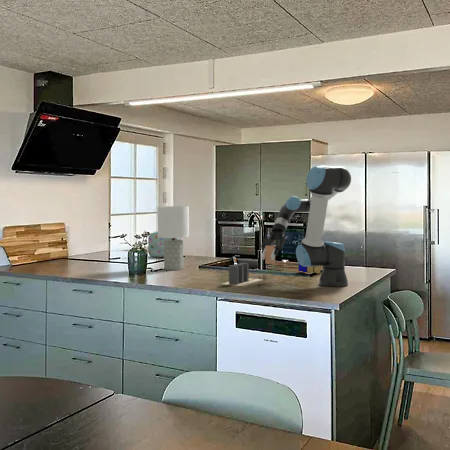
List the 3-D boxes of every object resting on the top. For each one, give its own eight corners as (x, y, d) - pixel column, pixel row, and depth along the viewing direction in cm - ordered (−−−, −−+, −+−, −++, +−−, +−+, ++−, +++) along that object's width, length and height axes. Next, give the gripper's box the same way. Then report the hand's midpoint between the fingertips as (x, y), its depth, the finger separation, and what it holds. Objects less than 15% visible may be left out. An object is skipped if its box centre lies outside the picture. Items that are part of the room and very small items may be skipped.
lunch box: (183, 256, 420) (183, 230, 419) (178, 258, 410) (178, 231, 409) (152, 256, 428) (152, 229, 427) (147, 257, 418) (146, 230, 417)
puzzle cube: (298, 272, 331) (298, 256, 331) (311, 271, 335) (311, 255, 335) (306, 274, 322) (306, 258, 321) (320, 273, 326) (320, 257, 325)
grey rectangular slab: (236, 282, 292) (235, 264, 291) (243, 282, 289) (243, 264, 289) (234, 282, 290) (234, 264, 290) (242, 283, 288) (241, 265, 287)
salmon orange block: (267, 263, 295) (266, 245, 295) (275, 263, 293) (275, 245, 292) (265, 263, 294) (265, 245, 293) (273, 264, 291) (273, 246, 291)
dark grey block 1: (230, 283, 287) (230, 265, 287) (238, 284, 285) (238, 265, 284) (229, 283, 286) (228, 265, 285) (237, 284, 283) (236, 266, 282)
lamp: (190, 266, 361) (189, 206, 358) (188, 271, 340) (188, 206, 338) (159, 267, 360) (158, 206, 358) (156, 271, 339) (155, 206, 337)
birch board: (263, 280, 300) (263, 279, 300) (241, 287, 279) (241, 286, 278) (242, 278, 307) (242, 277, 307) (219, 285, 286) (219, 283, 286)
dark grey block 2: (240, 280, 297) (240, 262, 296) (248, 281, 294) (248, 263, 293) (239, 281, 295) (239, 263, 294) (246, 281, 292) (246, 263, 292)
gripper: (296, 231, 301) (284, 263, 288) (268, 231, 310) (255, 262, 297) (292, 222, 296) (279, 254, 283) (263, 222, 306) (250, 253, 292)
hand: (267, 258), depth 290 cm, fingers closed on salmon orange block, 5 cm apart
